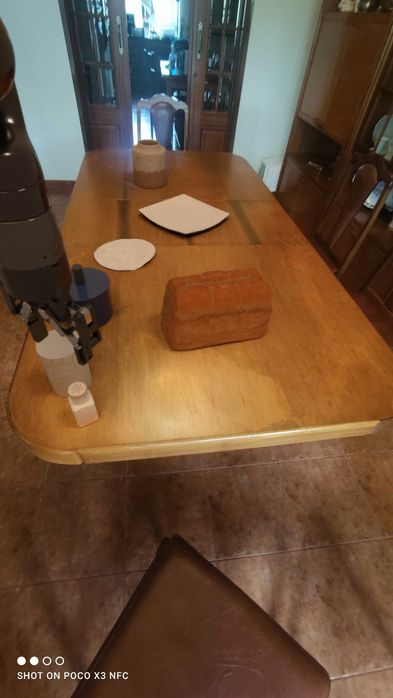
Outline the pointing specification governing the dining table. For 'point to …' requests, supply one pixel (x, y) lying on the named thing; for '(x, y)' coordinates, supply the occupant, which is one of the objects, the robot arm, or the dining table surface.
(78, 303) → the pot
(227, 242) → the dining table surface
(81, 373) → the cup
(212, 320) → the bread
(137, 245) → the plaque
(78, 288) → the pot lid
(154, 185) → the vase
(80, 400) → the salt shaker
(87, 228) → the dining table surface
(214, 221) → the plate
